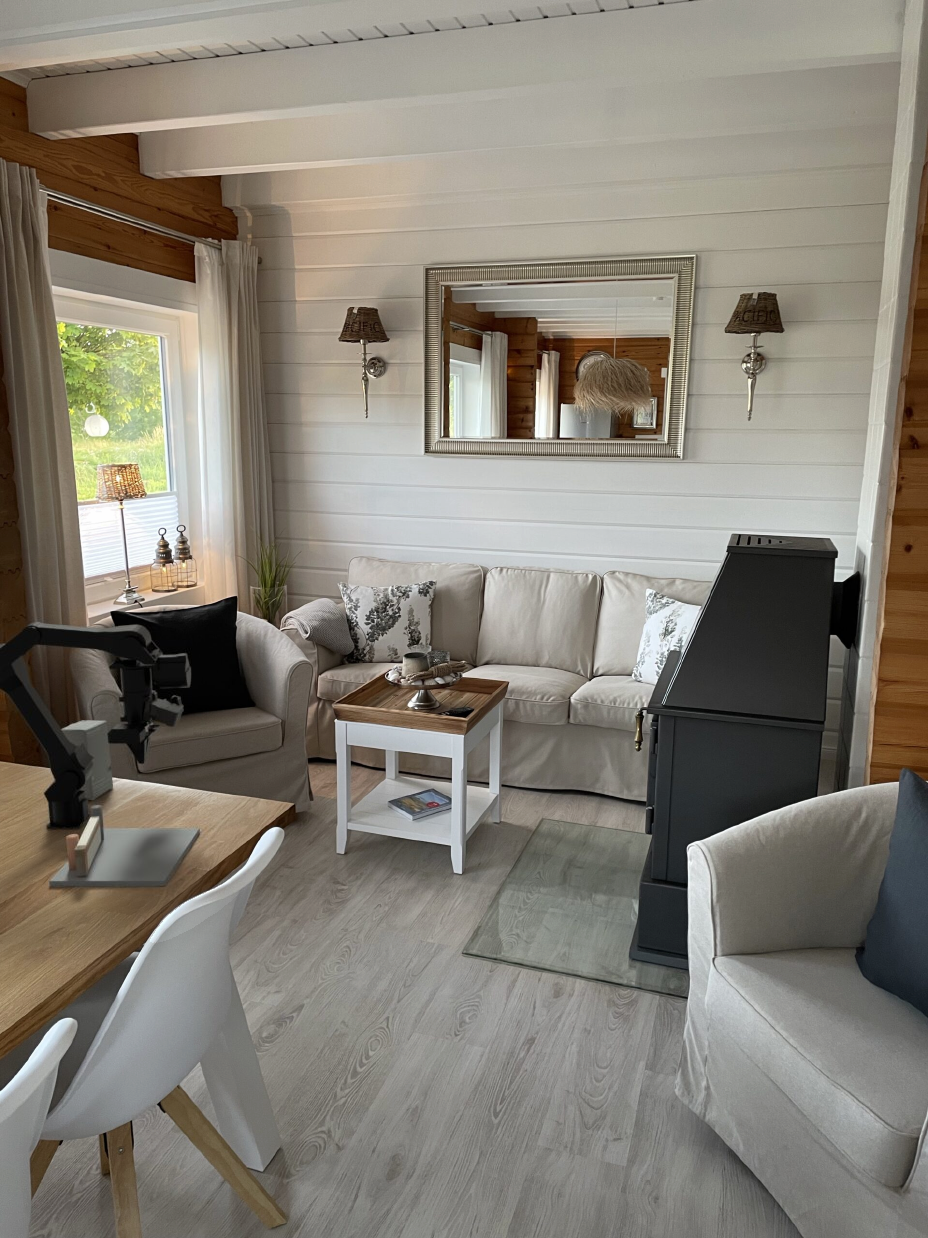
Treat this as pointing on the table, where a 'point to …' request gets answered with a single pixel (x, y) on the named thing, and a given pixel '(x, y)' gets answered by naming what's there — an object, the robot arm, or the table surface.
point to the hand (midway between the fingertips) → (142, 763)
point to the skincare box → (93, 754)
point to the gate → (87, 846)
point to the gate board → (129, 856)
